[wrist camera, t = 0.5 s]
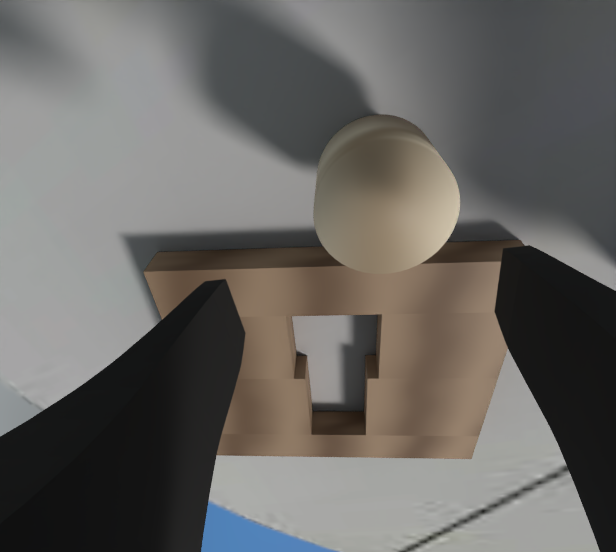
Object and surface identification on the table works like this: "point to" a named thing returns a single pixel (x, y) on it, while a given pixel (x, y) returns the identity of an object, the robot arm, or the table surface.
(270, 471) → the table surface
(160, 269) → the keyhole plate
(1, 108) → the table surface
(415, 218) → the birch peg
